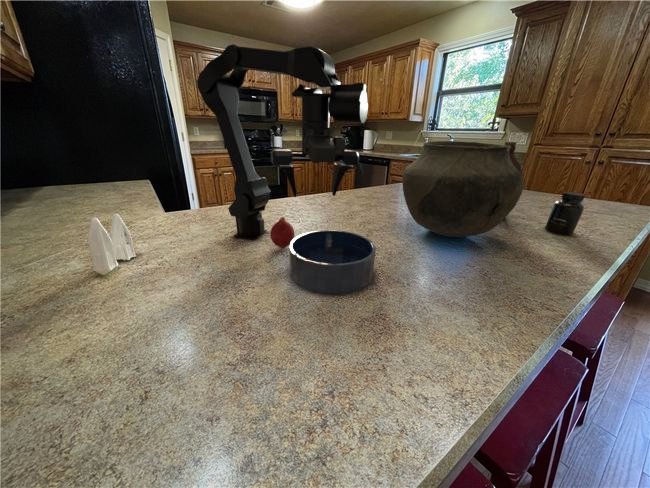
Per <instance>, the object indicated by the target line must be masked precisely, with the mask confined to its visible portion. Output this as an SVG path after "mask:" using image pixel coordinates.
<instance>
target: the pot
mask: <svg viewBox="0 0 650 488" xmlns="http://www.w3.org/2000/svg"><path fill="white" fill-rule="evenodd" d="M510 149H511V146H506V145H505V144H496V143H483V142H477V141H476V142H475V141H459V140H458V141H456V140H436V141H435V140H433V141H425V142H424V143H423V147H422V151H421V152H420V155H419V156H418V157H417V158H416V159H415V160H414V161H413V162H412V163H410V164H409V165H408V166H406V167H405V169H404V170H403V172H402V177H401V179H402V184H401V185H402V193H403V197H404V201H405V204H406V207H407V209H408V212H409V214H410V216H411V218H412V219H413V220H414V221H415V223H416V224H417V225H419V226H420V227H422V228H424V229H426V230H428V231H430V232H432V233H434V234H437V235H439V236H443V237H448V238H449V237H450V238H467V237H475V236H478V235H482V234H485V233H487V232H489V231H492V230H493V229H495V228H496V227H498V226H499V225H500V224H501V223H502V222H503V221H505V220H506V219H507V217H508V216H509V214H510V213H511V212H512V211H513V210H514V208H515V207H516V206H517V204H518V202H519V200H520V198H521V196H522V194H523V190H524V185H525V184H524V174H523V173H521V172H520V171H519V170H518V169H517V168H516V167H515V166H514V165H513V163H512V161H511V160H510V154H509V151H510ZM505 218H506V219H505ZM504 219H505V220H504Z"/></svg>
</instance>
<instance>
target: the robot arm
mask: <svg viewBox="0 0 650 488" xmlns="http://www.w3.org/2000/svg"><path fill="white" fill-rule="evenodd" d="M249 71H255V72H263V73H268V74H276V75H282V76H289V77H293V78H294V79H298V80H300V81H303V82H306V83H309V84H312V85H314V86H317V87H307V86H306V84H302V83H299V84H298V85H297V88H295V89H294V90H293V92H291V96H292V97H293V98H298V99H301V152H293V150H291V149H289V148H273V149H272V150H271V151H270V160H271V161H270V162H271V164H272V165H273V166H277V168H278V169H279V170H283V171H284V174H285V176H286V178H287V181H288V183H289V186H290V189H291V193H292V195H293V197H294V198H296V197H297V186H296V178H295V167H294V166H293V162H311V163H313V164H320V163H328V164H332V165H333V166H332V183H331V195H332V196H333V197H335V196H336V195H337V192H338V190H339V187H340V184H341V183H342V180H343V177H344V176H345V175H346V173H347V172H348V171H349V170H352V169H353V168H354V166H359V165H360V154H359V152H358V151H357V150H352V149H346V138H345V137H344V136H334V137H333V138H332V135H331V127H330V118H332V119H333V121H334V122H335V123H339V124H365V122H366V120H367V116H368V110H369V103H368V95H367V85H366V83H364V82H355V83H350V84H349V83H348V84H347V83H345V84H342V82H341V80H340V79H339V77H338V75H337V73H336V65H335V62H334V60H333V58H332V57H331V55H329V54H328V53H326V52H325V51H323V50H321V49H320V48H319V47H317V46H314V45H307V46H305V45H304V46H298V47H294V48H292V49H290V50H285V51H284V50H276V49H275V50H274V49H267V48H266V49H265V48H256V47H249V46H240V45H237V44H234V43H233V44H228V45H227V46H226V47H225V49H224V50H223V51H222V53H221V54H219V55H217V56H216V57H214V58H213V59H212V60H210V61H208V63H207V64H206V65H205V67H204V68H203V70H201V71H200V72H199V75H198V77H197V80H196V85H197V90H198V91H199V94H200V96H201V98H202V100H203V102H204V104H205V105H206V107H207V108H208V109H209V110H210V111H211V113H212V114H214V116H215V118H216V121H217V123H218V127H219V129H220V132H221V136H222V139H223V142H224V144H225V148H226V150H227V154H228V157H229V160H230V163H231V166H232V169H233V173H234V175H235V181H234V186H233V187H234V188H233V191H234V192H233V193H234V196H235V197H234V198H235V199H234V200H233V202H232V203H231V204H230V205H229V206H228V207H227V209H228V212H229V214H230V216H231V217H234V218H235V225H236V233H235V234H233V237H234V238H240V239H249V240H258V239H259V238H260V237H261V236H262V235H264V234H265V233H266V232H267V230H266V229H265V219H264V217H263V213H262V211H265V210H266V206H267V204H268V203H269V201H270V200H271V199H270V198H271V197H270V196H271V195H270V193H271V189H270V188H269V186H268V180H267V178H266V177H265V176H263V177H260V176H259V174H258V173H257V172H256V170H255V166H254V163H253V160H252V157H251V154H250V151H249V147H248V144H247V141H246V138H245V134H244V130H243V128H242V127H243V126H242V124H241V121H240V118H239V115H238V108H239V103H240V97H239V92H238V91H239V90H240V88H242V86H243V85H244V83H245V79H246V76H247V73H248V72H249ZM229 73H230V74H229ZM321 89H324V90H328V91H330V92H328V93H323V91H322V90H321ZM334 162H335V163H334Z"/></svg>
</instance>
